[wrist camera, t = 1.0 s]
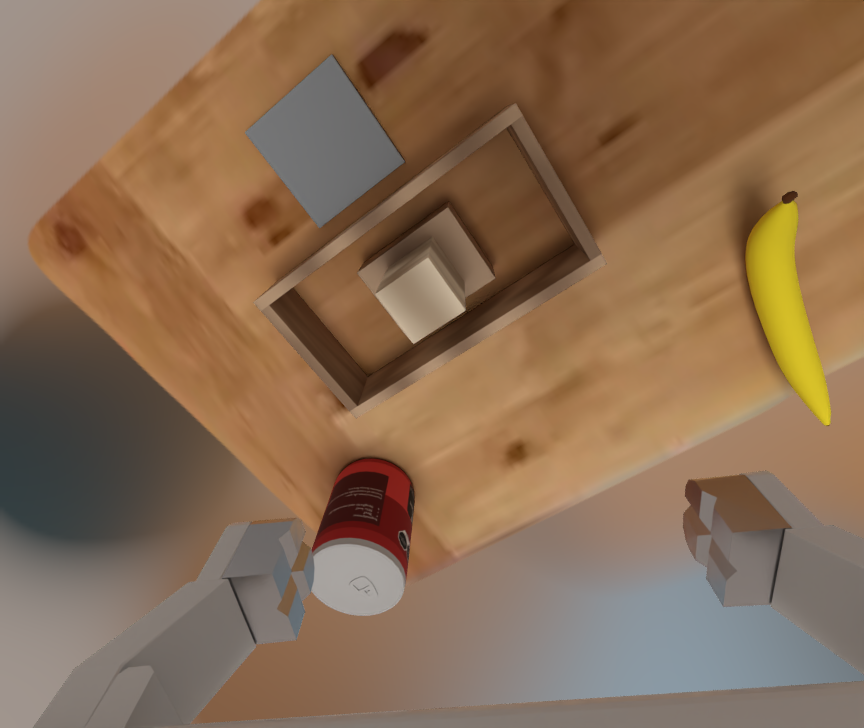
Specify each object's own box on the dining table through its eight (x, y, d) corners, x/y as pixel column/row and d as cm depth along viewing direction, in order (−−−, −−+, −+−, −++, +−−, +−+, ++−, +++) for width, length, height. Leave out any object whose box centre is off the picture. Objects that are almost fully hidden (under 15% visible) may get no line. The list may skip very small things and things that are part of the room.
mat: (332, 55, 33) (331, 54, 33) (405, 161, 36) (404, 162, 35) (246, 132, 35) (244, 132, 35) (320, 227, 38) (319, 228, 38)
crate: (507, 105, 34) (515, 103, 29) (589, 246, 38) (607, 263, 33) (275, 282, 40) (253, 302, 36) (366, 388, 44) (356, 418, 39)
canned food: (386, 531, 51) (369, 630, 41) (320, 492, 49) (285, 585, 39) (432, 485, 48) (426, 579, 38) (364, 441, 46) (338, 528, 37)
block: (432, 236, 35) (427, 257, 30) (464, 282, 36) (465, 310, 31) (387, 268, 36) (374, 294, 31) (419, 312, 37) (413, 344, 32)
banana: (771, 401, 43) (819, 443, 37) (716, 191, 36) (765, 204, 30) (807, 387, 42) (862, 429, 36) (758, 171, 35) (817, 181, 29)
